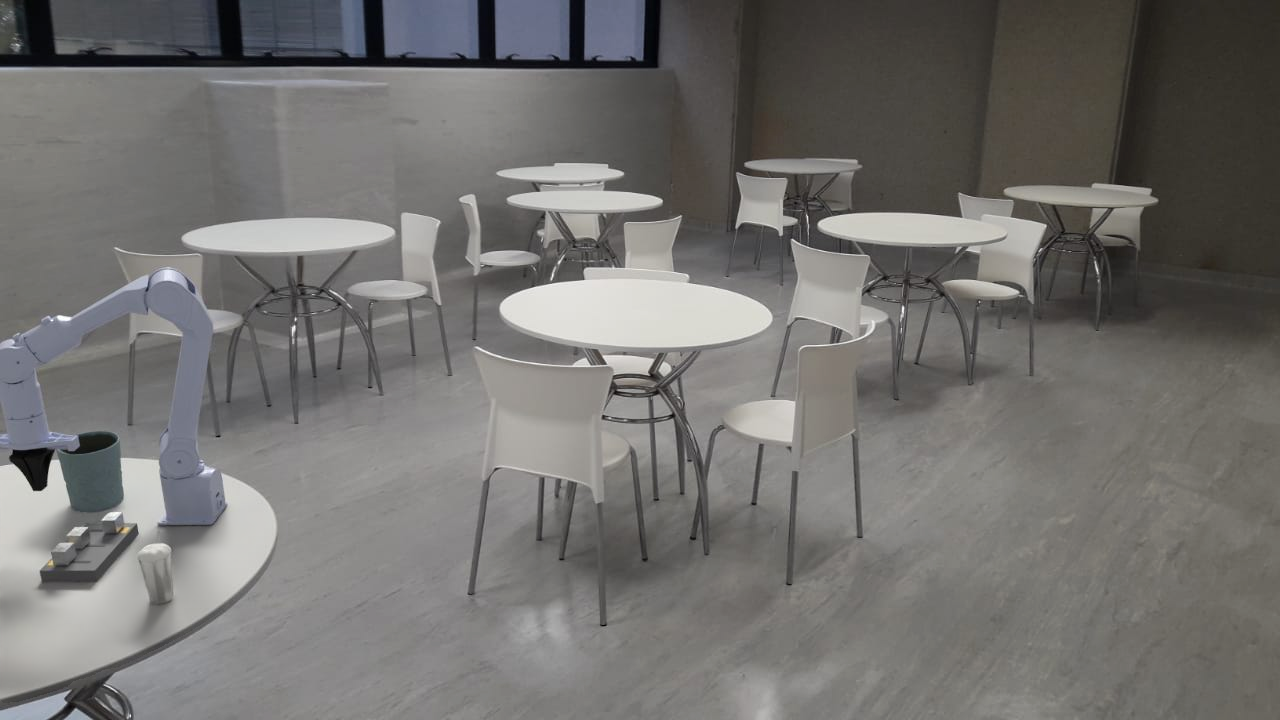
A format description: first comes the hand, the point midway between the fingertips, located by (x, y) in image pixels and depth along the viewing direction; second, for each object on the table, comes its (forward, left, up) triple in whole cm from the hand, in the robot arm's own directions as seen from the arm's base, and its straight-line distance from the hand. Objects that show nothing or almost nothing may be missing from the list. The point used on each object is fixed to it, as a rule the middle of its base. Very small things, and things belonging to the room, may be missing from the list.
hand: (40, 488), depth 165 cm
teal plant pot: (-2, -13, -10) cm, 16 cm away
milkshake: (-26, +18, -10) cm, 33 cm away
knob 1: (-8, +11, -7) cm, 16 cm away
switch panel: (-10, +6, -9) cm, 15 cm away
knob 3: (-11, +1, -7) cm, 14 cm away
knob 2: (-8, +6, -7) cm, 13 cm away
